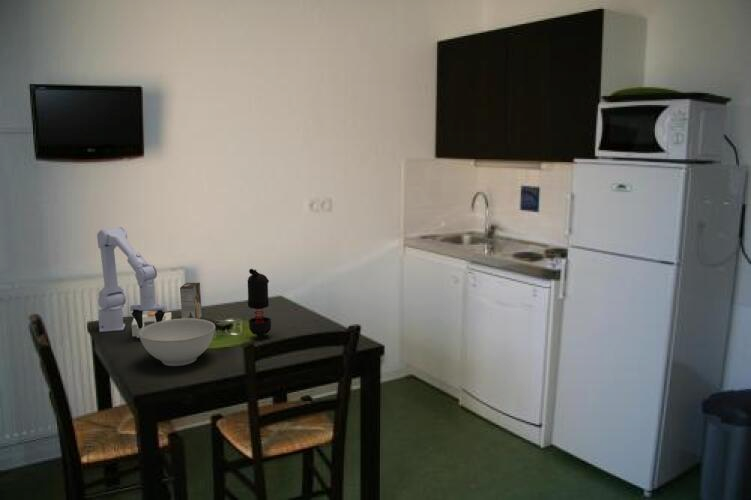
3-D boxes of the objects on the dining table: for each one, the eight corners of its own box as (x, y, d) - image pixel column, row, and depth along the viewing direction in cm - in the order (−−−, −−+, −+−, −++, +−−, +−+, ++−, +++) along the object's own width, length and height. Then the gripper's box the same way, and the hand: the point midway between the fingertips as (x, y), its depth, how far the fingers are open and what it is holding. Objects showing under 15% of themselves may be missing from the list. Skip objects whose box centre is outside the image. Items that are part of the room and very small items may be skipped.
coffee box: (188, 316, 286) (186, 282, 283) (202, 316, 286) (200, 282, 283) (181, 322, 277) (179, 287, 274) (196, 322, 277) (194, 287, 274)
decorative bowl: (189, 343, 250) (187, 314, 247) (231, 358, 233) (230, 327, 231) (126, 361, 229) (124, 330, 227) (167, 380, 213) (165, 346, 210)
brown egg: (147, 324, 268) (147, 314, 268) (148, 321, 273) (147, 311, 272) (158, 323, 270) (157, 313, 269) (159, 320, 274) (158, 310, 273)
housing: (132, 336, 258) (131, 324, 257) (135, 325, 272) (135, 314, 271) (170, 333, 262) (169, 321, 261) (172, 323, 276) (171, 312, 275)
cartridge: (136, 337, 252) (135, 323, 251) (139, 330, 261) (138, 316, 260) (163, 335, 255) (162, 321, 253) (164, 328, 264) (163, 314, 263)
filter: (263, 343, 250) (261, 270, 244) (243, 340, 253) (240, 268, 247) (279, 332, 262) (277, 263, 257) (260, 330, 265) (257, 261, 260)
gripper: (169, 293, 254) (171, 325, 256) (134, 292, 255) (137, 324, 258) (161, 298, 247) (163, 331, 249) (126, 297, 248) (129, 329, 251)
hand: (149, 328), depth 253 cm, fingers open, 7 cm apart
